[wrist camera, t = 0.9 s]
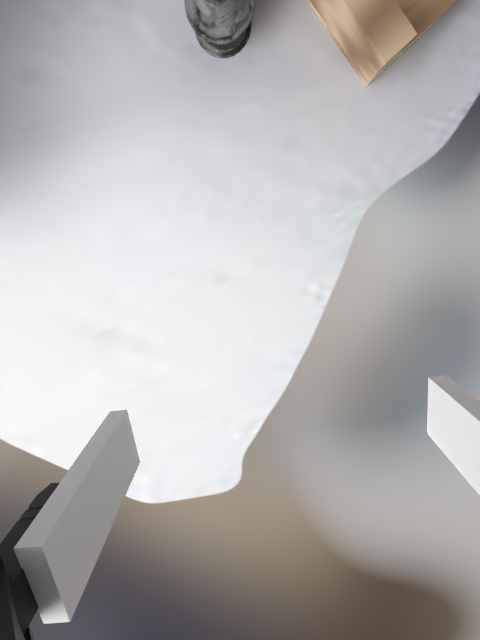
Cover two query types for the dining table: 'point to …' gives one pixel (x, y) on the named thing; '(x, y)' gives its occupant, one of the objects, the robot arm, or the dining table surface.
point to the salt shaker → (221, 24)
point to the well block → (377, 28)
